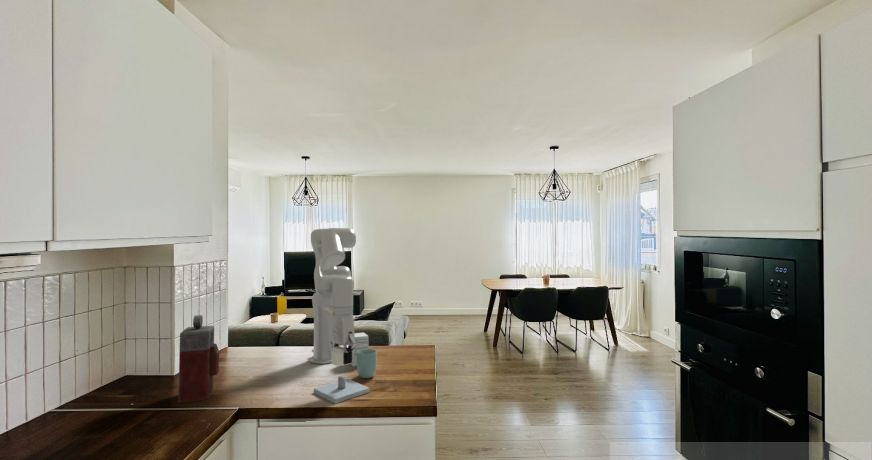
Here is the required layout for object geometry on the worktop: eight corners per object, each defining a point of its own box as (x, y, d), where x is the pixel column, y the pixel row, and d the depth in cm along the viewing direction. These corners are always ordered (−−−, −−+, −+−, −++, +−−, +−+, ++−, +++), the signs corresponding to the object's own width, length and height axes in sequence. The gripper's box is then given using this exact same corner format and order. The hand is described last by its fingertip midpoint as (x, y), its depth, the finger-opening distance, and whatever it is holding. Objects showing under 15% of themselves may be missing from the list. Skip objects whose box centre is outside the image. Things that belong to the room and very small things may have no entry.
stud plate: (313, 392, 140) (314, 376, 140) (347, 382, 150) (347, 368, 151) (335, 403, 131) (335, 386, 131) (369, 392, 141) (369, 376, 141)
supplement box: (348, 362, 176) (348, 333, 177) (364, 360, 179) (364, 332, 180) (351, 366, 170) (352, 337, 170) (368, 364, 173) (368, 335, 173)
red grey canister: (216, 398, 135) (217, 316, 136) (178, 402, 131) (180, 318, 132) (220, 389, 144) (221, 311, 144) (184, 393, 140) (186, 313, 140)
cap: (329, 363, 141) (329, 347, 141) (344, 359, 145) (344, 344, 145) (339, 366, 136) (339, 350, 136) (354, 362, 141) (354, 347, 141)
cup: (366, 381, 151) (366, 355, 152) (352, 377, 156) (352, 352, 156) (380, 376, 158) (380, 351, 158) (367, 372, 162) (367, 347, 163)
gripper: (320, 309, 145) (320, 358, 144) (347, 315, 133) (346, 369, 132) (338, 307, 150) (337, 354, 149) (365, 312, 138) (365, 364, 137)
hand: (342, 361), depth 141 cm, fingers closed on cap, 6 cm apart
